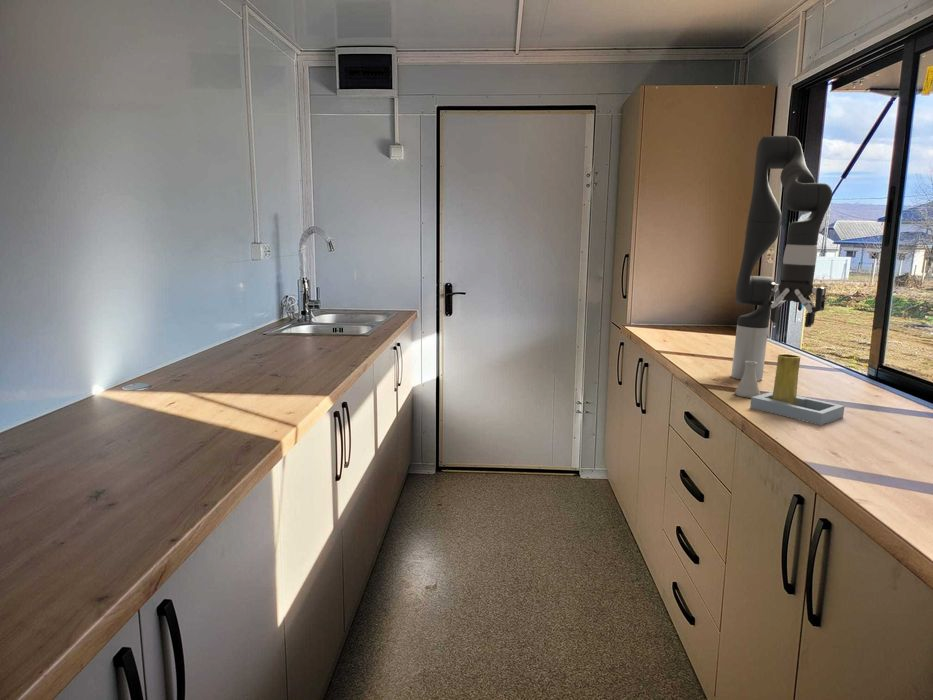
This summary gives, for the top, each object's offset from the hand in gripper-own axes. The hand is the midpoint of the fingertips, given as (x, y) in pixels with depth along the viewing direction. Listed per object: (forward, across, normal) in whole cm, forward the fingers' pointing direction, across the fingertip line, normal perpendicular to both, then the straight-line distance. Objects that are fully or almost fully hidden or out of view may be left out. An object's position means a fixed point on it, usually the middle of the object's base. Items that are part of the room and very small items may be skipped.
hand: (790, 324), depth 163 cm
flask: (+23, +12, -5) cm, 26 cm away
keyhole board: (+23, -5, +1) cm, 23 cm away
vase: (+22, -1, +1) cm, 23 cm away
